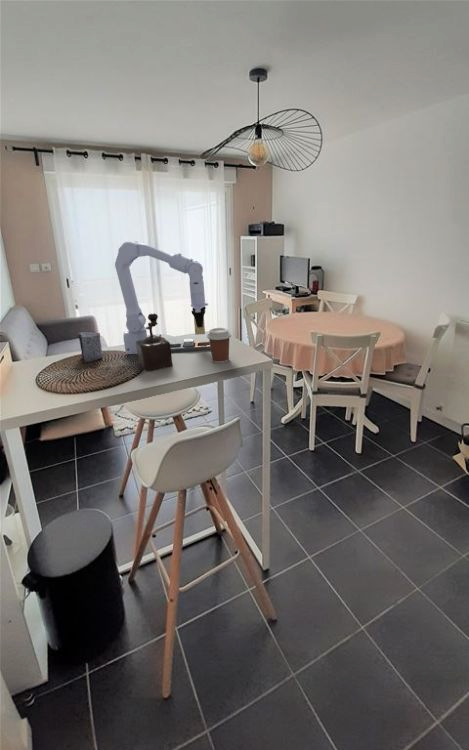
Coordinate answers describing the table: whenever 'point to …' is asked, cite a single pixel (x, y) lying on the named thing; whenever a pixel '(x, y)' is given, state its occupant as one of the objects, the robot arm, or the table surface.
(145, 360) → the manual coffee grinder
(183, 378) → the table surface
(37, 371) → the table surface
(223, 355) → the coffee cup
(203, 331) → the yellow block
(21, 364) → the table surface
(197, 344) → the rail
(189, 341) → the zinc nut
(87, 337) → the stone
